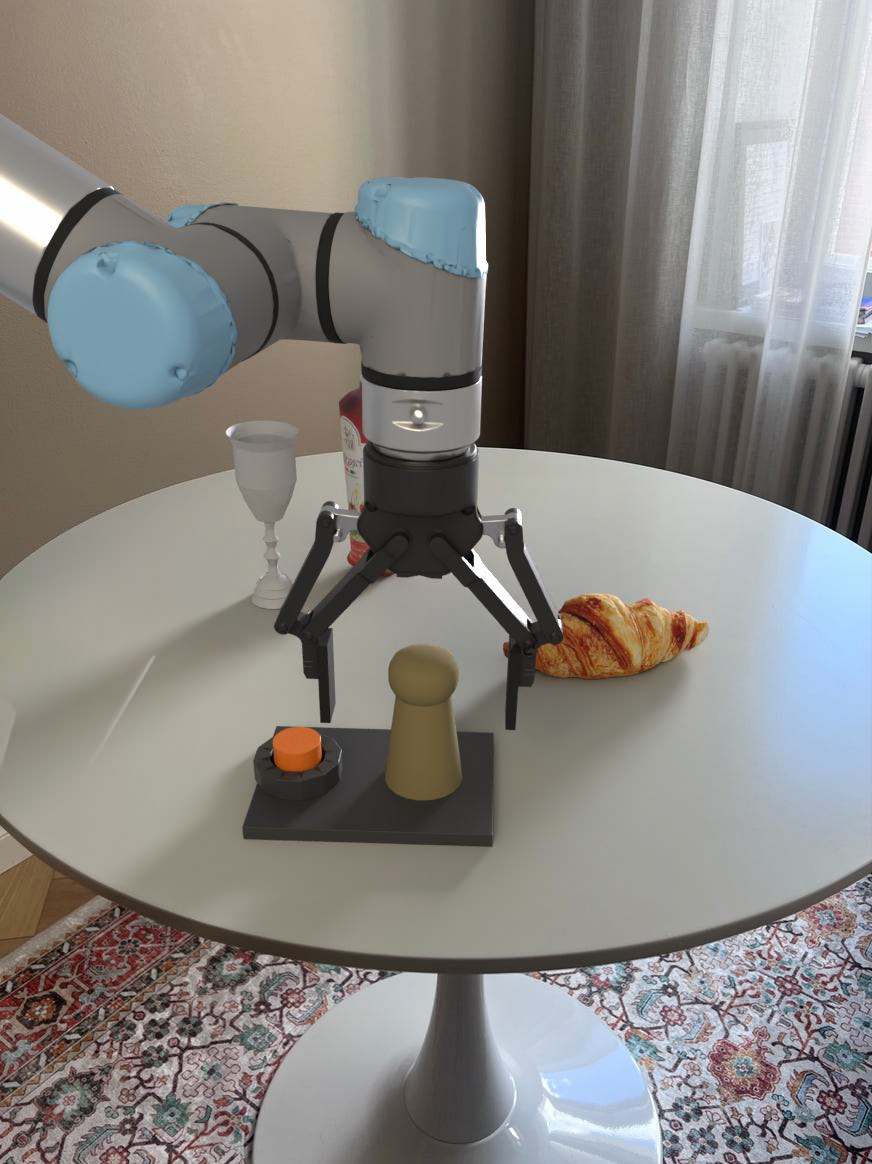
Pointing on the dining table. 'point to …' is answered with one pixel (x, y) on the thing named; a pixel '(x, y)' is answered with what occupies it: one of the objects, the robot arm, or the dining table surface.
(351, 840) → the base
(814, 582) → the dining table surface
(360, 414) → the liquor
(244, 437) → the chalice
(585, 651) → the croissant
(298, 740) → the switch
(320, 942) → the dining table surface
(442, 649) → the cork
